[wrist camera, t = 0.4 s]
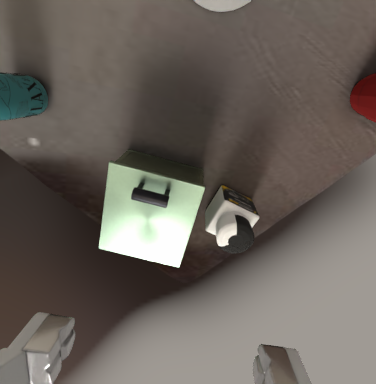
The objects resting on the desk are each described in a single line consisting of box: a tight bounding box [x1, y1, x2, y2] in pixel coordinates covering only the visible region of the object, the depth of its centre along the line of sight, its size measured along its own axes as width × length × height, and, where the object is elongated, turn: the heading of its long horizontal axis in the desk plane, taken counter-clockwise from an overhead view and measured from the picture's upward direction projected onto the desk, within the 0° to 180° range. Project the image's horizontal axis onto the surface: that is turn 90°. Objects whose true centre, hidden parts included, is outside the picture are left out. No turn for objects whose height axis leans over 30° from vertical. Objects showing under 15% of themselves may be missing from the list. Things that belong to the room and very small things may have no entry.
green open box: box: [115, 149, 204, 185], centre depth 43 cm, size 16×15×10 cm
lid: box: [99, 161, 205, 267], centre depth 36 cm, size 16×15×5 cm
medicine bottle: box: [205, 185, 259, 253], centre depth 42 cm, size 7×7×12 cm
